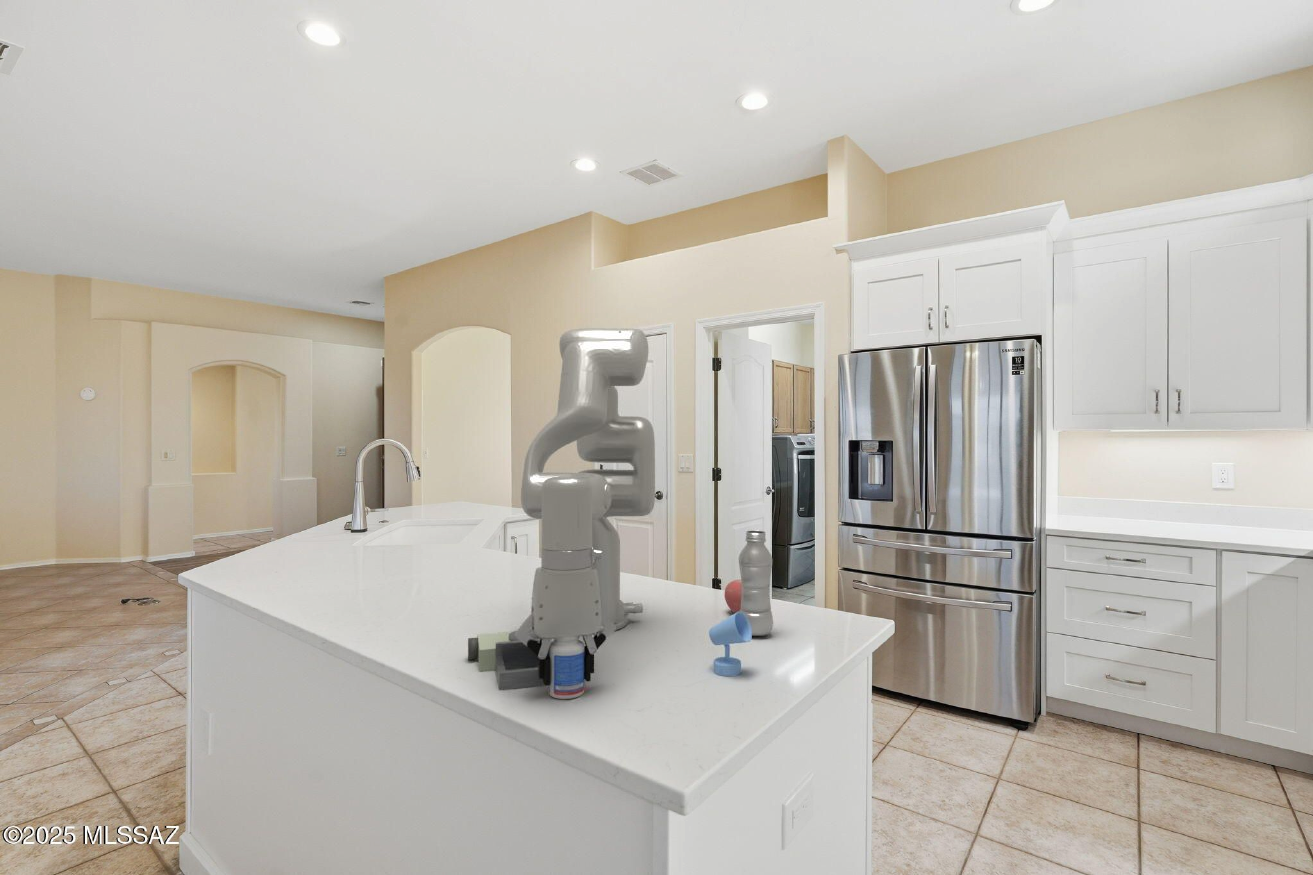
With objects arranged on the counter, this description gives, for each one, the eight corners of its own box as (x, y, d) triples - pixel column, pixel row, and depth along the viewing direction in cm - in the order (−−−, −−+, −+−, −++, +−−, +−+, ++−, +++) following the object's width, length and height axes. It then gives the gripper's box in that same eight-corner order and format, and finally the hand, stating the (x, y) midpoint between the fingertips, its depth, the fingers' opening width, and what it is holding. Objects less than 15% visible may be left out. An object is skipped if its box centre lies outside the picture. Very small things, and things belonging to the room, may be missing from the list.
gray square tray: (550, 664, 110) (550, 637, 110) (558, 683, 102) (558, 654, 102) (495, 669, 108) (495, 642, 108) (499, 690, 99) (499, 660, 99)
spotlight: (755, 671, 107) (717, 663, 111) (755, 610, 107) (717, 604, 111) (742, 680, 103) (703, 672, 107) (743, 617, 103) (704, 610, 107)
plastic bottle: (765, 642, 123) (765, 535, 123) (732, 636, 126) (732, 532, 126) (778, 633, 128) (778, 531, 128) (746, 628, 132) (746, 528, 132)
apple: (735, 607, 148) (735, 571, 148) (764, 612, 144) (764, 576, 144) (718, 614, 142) (718, 577, 142) (748, 620, 138) (748, 582, 138)
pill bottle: (592, 692, 98) (592, 627, 98) (563, 703, 94) (564, 635, 94) (568, 683, 102) (569, 620, 102) (540, 692, 98) (541, 627, 98)
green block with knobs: (565, 645, 120) (565, 623, 120) (574, 661, 111) (574, 637, 111) (467, 654, 115) (468, 631, 115) (469, 672, 106) (469, 647, 106)
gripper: (616, 552, 104) (616, 666, 104) (506, 558, 99) (505, 678, 99) (628, 560, 97) (628, 683, 97) (510, 567, 92) (510, 696, 92)
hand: (566, 679), depth 98 cm, fingers closed on pill bottle, 5 cm apart
